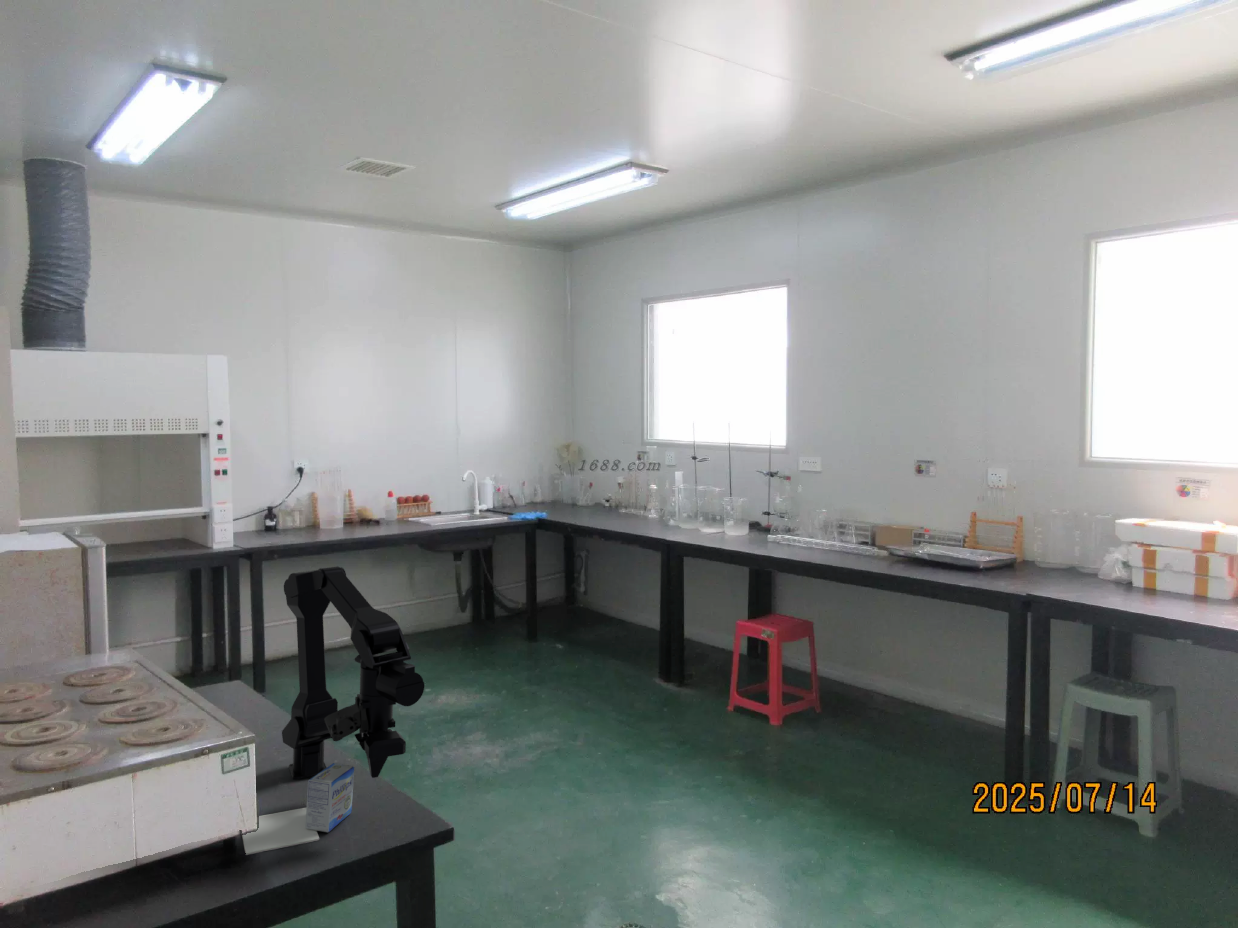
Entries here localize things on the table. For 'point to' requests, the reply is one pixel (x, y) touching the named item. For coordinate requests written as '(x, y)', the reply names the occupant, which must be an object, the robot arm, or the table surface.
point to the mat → (279, 832)
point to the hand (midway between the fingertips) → (374, 776)
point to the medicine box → (329, 797)
